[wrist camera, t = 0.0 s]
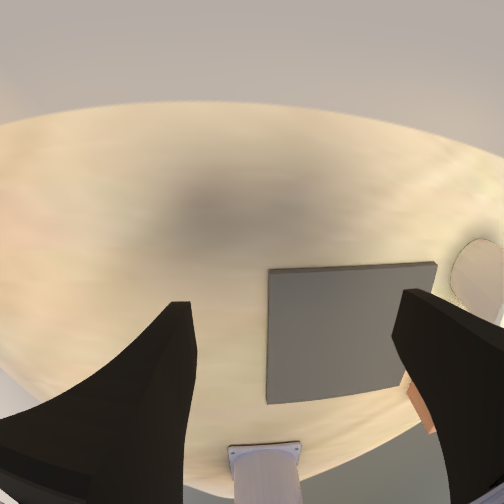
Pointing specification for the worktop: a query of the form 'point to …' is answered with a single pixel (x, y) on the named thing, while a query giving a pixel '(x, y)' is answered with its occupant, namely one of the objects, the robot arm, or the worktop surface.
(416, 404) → the tile
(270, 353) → the plate
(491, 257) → the white short cylinder
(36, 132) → the worktop surface
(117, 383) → the robot arm
